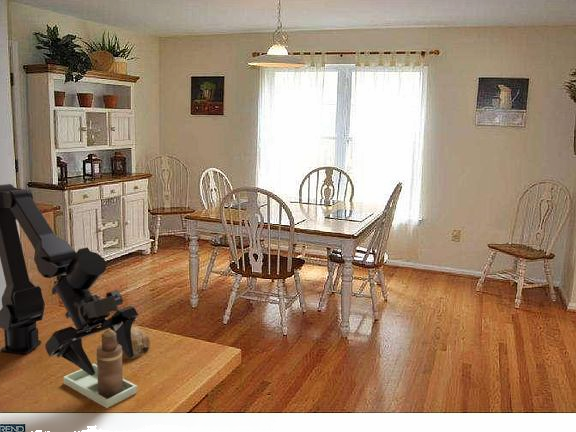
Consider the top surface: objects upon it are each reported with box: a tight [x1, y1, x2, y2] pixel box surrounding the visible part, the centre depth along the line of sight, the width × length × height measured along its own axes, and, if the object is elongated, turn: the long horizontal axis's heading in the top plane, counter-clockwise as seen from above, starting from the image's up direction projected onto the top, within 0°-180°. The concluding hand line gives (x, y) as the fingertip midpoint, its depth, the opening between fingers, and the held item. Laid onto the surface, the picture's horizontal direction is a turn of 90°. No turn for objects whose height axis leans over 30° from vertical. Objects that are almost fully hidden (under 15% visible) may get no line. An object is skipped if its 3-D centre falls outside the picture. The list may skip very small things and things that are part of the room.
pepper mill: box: [96, 328, 124, 399], centre depth 106 cm, size 5×5×14 cm
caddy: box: [63, 363, 138, 409], centre depth 109 cm, size 14×7×2 cm, turn 55°
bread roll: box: [114, 326, 151, 360], centre depth 126 cm, size 10×10×8 cm
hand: (113, 365), depth 105 cm, fingers open, 9 cm apart
